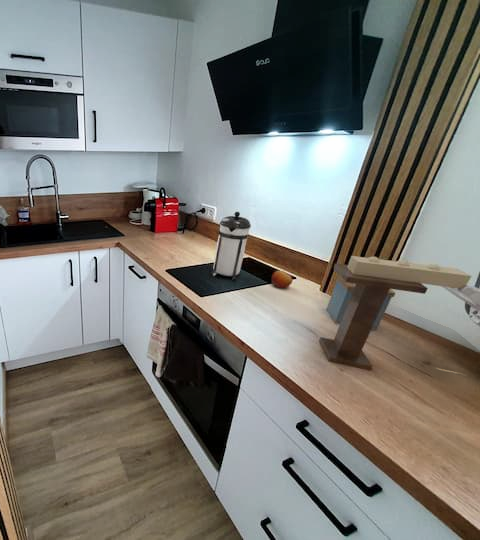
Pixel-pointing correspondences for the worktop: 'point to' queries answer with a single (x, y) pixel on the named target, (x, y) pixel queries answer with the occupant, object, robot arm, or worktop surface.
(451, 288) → the robot arm
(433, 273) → the egg box
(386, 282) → the wooden pedestal stand
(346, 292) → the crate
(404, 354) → the worktop surface
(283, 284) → the fruit
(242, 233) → the coffee press
